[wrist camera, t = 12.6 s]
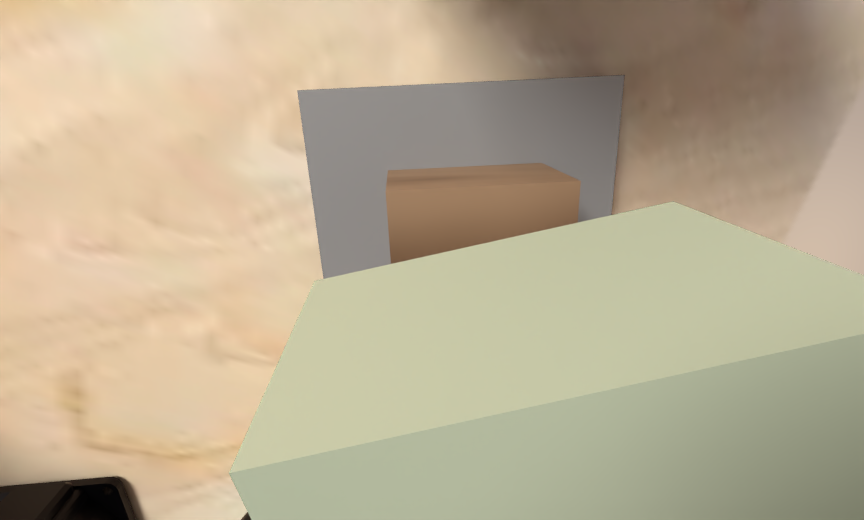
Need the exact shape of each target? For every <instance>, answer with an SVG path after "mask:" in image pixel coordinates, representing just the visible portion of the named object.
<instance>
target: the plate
mask: <svg viewBox="0 0 864 520" xmlns="http://www.w3.org/2000/svg"><path fill="white" fill-rule="evenodd" d="M624 76H625V75H613V76H592V77H571V78H550V79H529V80H508V81H487V82H465V83H444V84H423V85H402V86H381V87H360V88H339V89H317V90H297V91H298V98H299V105H300V113H301V120H302V127H303V134H304V141H305V149H306V156H307V163H308V170H309V177H310V184H311V192H312V199H313V206H314V213H315V220H316V228H317V235H318V242H319V249H320V256H321V263H322V271H323V278H324V279H326V278H330V277H335V276H339V275H344V274H348V273H353V272H357V271H362V270H366V269H371V268H375V267H380V266H384V265H389V264H391V258H390V245H389V231H388V218H387V204H386V183H387V174H388V170H404V169H425V168H445V167H466V166H486V165H507V164H527V163H543V164H545V165H547V166H550V167H552V168H554V169H556V170H558V171H560V172H563V173H565V174H567V175H569V176H571V177H573V178H575V179H578V180H580V181H581V185H580V198H579V211H578V222H583V221H587V220H592V219H596V218H601V217H605V216H610V215H611V213H612V202H613V192H614V181H615V171H616V160H617V149H618V139H619V128H620V118H621V107H622V97H623V86H624Z"/></svg>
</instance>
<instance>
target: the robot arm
mask: <svg viewBox="0 0 864 520" xmlns="http://www.w3.org/2000/svg"><path fill="white" fill-rule="evenodd" d="M0 520H136V519H135V516H134V513H133V510H132V508H131V505H130V502H129V500H128V497H127V494H126V491H125V489H124V486H123V483H122V482H121V481H120V480H119V479H117V478H114V477H104V478H93V479H82V480H71V481H60V482H49V483H38V484H27V485H16V486H5V487H0ZM241 520H251V518H250V516H249V513H248V512H247V513H246V514H245V516H244V517H243V518H242V519H241Z"/></svg>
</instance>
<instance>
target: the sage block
mask: <svg viewBox="0 0 864 520" xmlns="http://www.w3.org/2000/svg"><path fill="white" fill-rule="evenodd" d="M229 474H230V476H231V478H232V481H233V483H234V485H235V487H236V489H237V491H238V493H239V495H240V497H241V499H242V501H243V503H244V505H245V507H246V509H247V511H248V513H249V516H250V518H251V520H864V275H862V274H859V273H856V272H854V271H851V270H849V269H846V268H844V267H841V266H838V265H836V264H833V263H831V262H828V261H826V260H823V259H820V258H818V257H815V256H813V255H810V254H807V253H805V252H802V251H800V250H797V249H795V248H792V247H789V246H787V245H784V244H782V243H779V242H777V241H774V240H771V239H769V238H766V237H764V236H761V235H759V234H756V233H753V232H751V231H748V230H746V229H743V228H741V227H738V226H735V225H733V224H730V223H728V222H725V221H723V220H720V219H717V218H715V217H712V216H710V215H707V214H705V213H702V212H699V211H697V210H694V209H692V208H689V207H687V206H684V205H681V204H679V203H676V202H674V201H673V202H668V203H664V204H659V205H655V206H650V207H646V208H641V209H637V210H632V211H628V212H623V213H619V214H614V215H610V216H605V217H601V218H596V219H592V220H587V221H583V222H578V223H574V224H569V225H565V226H560V227H556V228H551V229H547V230H542V231H538V232H533V233H529V234H524V235H520V236H515V237H511V238H506V239H502V240H497V241H492V242H488V243H483V244H479V245H474V246H470V247H465V248H461V249H456V250H452V251H447V252H443V253H438V254H434V255H429V256H425V257H420V258H416V259H411V260H407V261H402V262H398V263H393V264H389V265H384V266H380V267H375V268H371V269H366V270H362V271H357V272H353V273H348V274H344V275H339V276H335V277H330V278H326V279H321V280H317V281H314V283H313V286H312V288H311V290H310V292H309V295H308V297H307V299H306V301H305V304H304V306H303V308H302V310H301V313H300V315H299V317H298V319H297V321H296V324H295V326H294V328H293V330H292V333H291V335H290V337H289V339H288V342H287V344H286V346H285V348H284V351H283V353H282V355H281V357H280V360H279V362H278V364H277V366H276V369H275V371H274V373H273V375H272V378H271V380H270V382H269V384H268V387H267V389H266V391H265V393H264V396H263V398H262V400H261V402H260V405H259V407H258V409H257V411H256V414H255V416H254V418H253V420H252V422H251V425H250V427H249V429H248V431H247V434H246V436H245V438H244V440H243V443H242V445H241V447H240V449H239V452H238V454H237V456H236V458H235V461H234V463H233V465H232V467H231V470H230V472H229Z"/></svg>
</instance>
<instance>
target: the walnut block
mask: <svg viewBox="0 0 864 520" xmlns="http://www.w3.org/2000/svg"><path fill="white" fill-rule="evenodd" d="M580 185H581V181H580V180H578V179H575V178H573V177H571V176H569V175H567V174H565V173H563V172H560V171H558V170H556V169H554V168H552V167H550V166H547V165H545V164H543V163H527V164H507V165H486V166H466V167H445V168H425V169H404V170H388V174H387V183H386V204H387V218H388V231H389V245H390V258H391V264H393V263H398V262H402V261H407V260H411V259H416V258H420V257H425V256H429V255H434V254H438V253H443V252H447V251H452V250H456V249H461V248H465V247H470V246H474V245H479V244H483V243H488V242H492V241H497V240H502V239H506V238H511V237H515V236H520V235H524V234H529V233H533V232H538V231H542V230H547V229H551V228H556V227H560V226H565V225H569V224H574V223H578V211H579V198H580Z"/></svg>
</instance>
